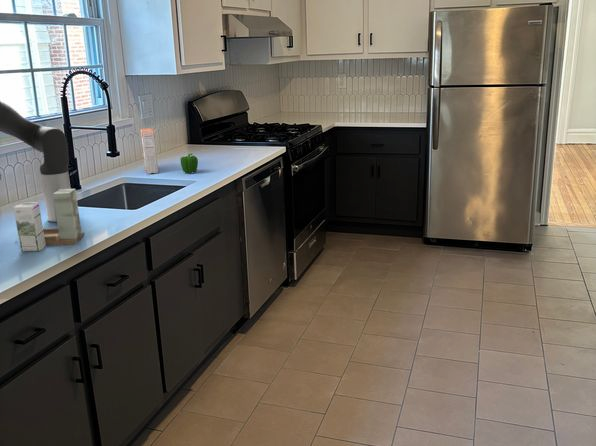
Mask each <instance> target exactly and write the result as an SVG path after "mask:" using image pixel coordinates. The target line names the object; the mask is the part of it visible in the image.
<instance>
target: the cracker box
mask: <svg viewBox="0 0 596 446" xmlns="http://www.w3.org/2000/svg"><path fill="white" fill-rule="evenodd" d="M140 136H141V137H140V138H141V143H142V152H143V153H142V154H143V161H144V169H145V172H147V173H146V175H147V174H149V173H158V174H159V166H158V157H157V148H156V139H155V137H156V136H155V132H154V129H153V128H152V127H148V128H147V127H143V128H140ZM149 175H150V174H149Z"/></svg>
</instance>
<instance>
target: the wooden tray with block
mask: <svg viewBox="0 0 596 446" xmlns="http://www.w3.org/2000/svg"><path fill="white" fill-rule="evenodd" d="M53 198H54V204H55V212H56V219H57V222H56V224H57V228H43V232H44V238H45V243H46V246H54V245H55V246H56V245H57V246H58V245H74V244H75V243H76V242H77V241H78V240H79V239H80V238H81V237H82V236H83V235H84V236H85V232H84V231H82V227H81V220H80V212H79V207H78V206H79V205H78V198H77V191H76V188H71V189H59V190H58V191H56V192H55V193H53ZM84 236H83V237H84ZM83 237H82V238H83ZM82 238H81V239H82ZM81 239H80V240H81ZM80 240H79V241H80ZM79 241H78V242H79ZM78 242H77V243H78ZM77 243H76V244H77ZM76 244H75V245H76Z"/></svg>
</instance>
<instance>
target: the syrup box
mask: <svg viewBox="0 0 596 446" xmlns="http://www.w3.org/2000/svg"><path fill="white" fill-rule="evenodd" d="M12 209H13V215H14V218H15V219H14V220H15V224H16V225H15V226H16V229H17V236H18V240H19V246H20V252H21V253H25V252H26V253H27V252H29V253H30V252H40V251H41V250H43V249H44V248H45V247H46V246H47V245H46V243H45V238H44V232H43V229H44V226H43V220H42V214H41V207H40V203H39V201H35V202H34V201H32V202H19V203H17V204H16V205H14V207H13V208H12Z"/></svg>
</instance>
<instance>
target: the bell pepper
mask: <svg viewBox="0 0 596 446" xmlns="http://www.w3.org/2000/svg"><path fill="white" fill-rule="evenodd" d="M179 161H180V166H181V170H182V171H183V173H184V172H185V173H184V174H193V173H192V172H195V173H196V172H197V170H198V166H199V165H198V164H199V159H198V158H197V157H196V156H195V155H193V152H189V153H188V154H187V156H181V157H180V160H179Z"/></svg>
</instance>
